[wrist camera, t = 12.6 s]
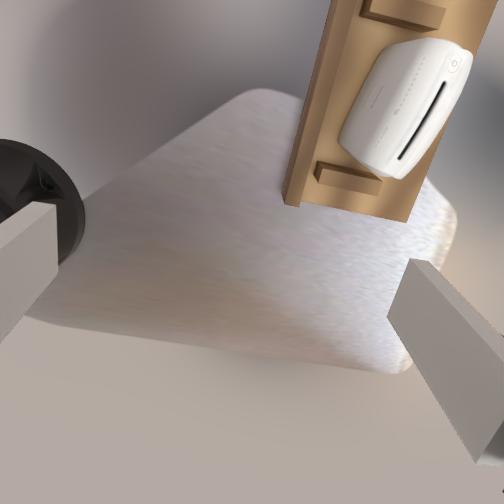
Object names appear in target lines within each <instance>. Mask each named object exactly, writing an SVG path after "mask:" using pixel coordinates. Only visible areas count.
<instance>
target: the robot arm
mask: <svg viewBox="0 0 504 504" xmlns="http://www.w3.org/2000/svg"><path fill="white" fill-rule="evenodd" d="M84 225H85V214H84V208H83V203H82V200H81V197H80V195H79V192H78V190H77V189H76V187H75V185H74V183H73V182H72V180H71V179H70V177H69V176H68V175H67V173H66V172H65V171H64V170H63V169H62V168H61V167H60V166H59V165H58V164H57V163H56V162H55V161H54V160H52V159H51V158H50V157H48V156H47V155H46V154H44V153H42V152H41V151H39V150H37V149H35V148H33V147H31V146H29V145H26V144H23V143H20V142H17V141H12V140H7V139H0V343H1V342H2V341H3V340H4V338H5V337H6V336H7V335H8V333H9V332H10V331H11V330H12V329H13V327H14V326H15V325H16V324H17V323H18V321H19V320H20V319H21V318H22V317H23V315H24V314H25V313H26V312H27V311H28V309H29V308H30V307H31V306H32V305H33V303H34V302H35V301H36V300H37V299H38V297H39V296H40V295H41V294H42V293H43V291H44V290H45V289H46V288H47V287H48V285H49V284H50V283H51V282H52V281H53V279H54V278H55V277H56V276H57V275H58V266H59V265H60V264H61V263H63V262H64V261H65V260H66V259H67V258H68V257H69V256H70V255H71V254H72V253H73V251H74V250H75V249H76V248H77V246H78V244H79V243H80V240H81V238H82V235H83V232H84ZM387 318H388V320H389V321H390V323H391V325H392V326H393V328H394V330H395V331H396V333H397V335H398V336H399V338H400V340H401V341H402V343H403V345H404V346H405V348H406V350H407V351H408V353H409V354H410V356H411V358H412V359H413V361H414V363H415V364H416V366H417V368H418V369H419V371H420V373H421V374H422V376H423V377H424V379H425V381H426V383H427V384H428V386H429V387H430V389H431V391H432V393H433V394H434V396H435V397H436V399H437V401H438V402H439V404H440V406H441V407H442V409H443V411H444V412H445V414H446V416H447V417H448V419H449V421H450V422H451V424H452V426H453V427H454V429H455V431H456V432H457V434H458V435H459V437H460V439H461V440H462V442H463V444H464V445H465V447H466V449H467V450H468V452H469V454H470V455H471V457H472V459H473V460H474V462H475V463H476V464H482V465H494V466H503V464H504V336H503V335H501V334H500V333H498V331H497V330H496V329H495V328H494V327H493V326H492V325H491V324H490V323H489V322H488V321H487V320H486V319H485V318H484V317H483V316H482V315H481V314H480V313H479V312H478V311H477V310H476V309H475V308H474V307H473V306H472V305H471V304H470V303H469V302H468V301H467V300H466V299H465V298H464V297H463V296H462V295H461V294H460V293H459V292H458V291H457V290H456V289H455V288H454V287H453V286H452V285H451V284H450V283H449V282H448V281H447V280H446V279H445V278H444V277H443V276H442V274H441V273H440V272H439V271H438V270H437V269H436V268H435V267H434V266H433V265H432V264H431V263H430V262H429V261H424V260H418V259H411V258H410V259H409V262H408V264H407V267H406V269H405V272H404V274H403V277H402V280H401V282H400V285H399V287H398V290H397V292H396V295H395V297H394V300H393V302H392V305H391V307H390V310H389V312H388V315H387ZM503 493H504V490H503Z"/></svg>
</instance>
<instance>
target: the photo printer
mask: <svg viewBox="0 0 504 504" xmlns="http://www.w3.org/2000/svg"><path fill="white" fill-rule="evenodd" d="M472 62H473V55H472V53H471V52H470V51H468V50H465V49H462V47H461V46H460V45H458V44H457V43H455V42H452V41H449V40H447V39H437V38H430V37H428V38H422V39H417V40H412V41H407V42H402V43H397V44H392V45H388V46H387V47H385V49H384V50H383V51H382V53H381V54H380V55H379V57H378V59H377V60H376V62H375V64H374V65H373V67H372V69H371V71H370V73H369V75H368V77H367V78H366V80H365V82H364V84H363V86H362V88H361V90H360V92H359V94H358V96H357V98H356V100H355V102H354V104H353V106H352V108H351V110H350V113H349V115H348V117H347V119H346V121H345V123H344V126H343V128H342V130H341V133H340V136H339V140H338V143H339V144H340V145H342V147H343V148H344V150H345V151H347V152H348V153H349V154H350V155H351V156H353V157H354V158H355V159H356V160H358V161H359V162H360V163H362V164H363V165H364V166H365V167H367V168H368V169H369V170H370V171H372V172H373V173H375V174H376V175H379V176H382V177H394V178H396V179H402V178H403V177H404V176H406V175H407V174H408V173H409V172H410V171H411V170H412V169H413V167H414V166H415V165H416V164H417V163H418V161H419V160H420V159H421V158H422V156H423V155H424V154H425V152H426V151H427V149H428V148H429V146H430V145H431V144H432V142H433V141H434V139H435V138H436V136H437V134H438V133H439V131H440V130H441V129H442V127H443V125H444V123H445V122H446V120H447V118H448V116H449V115H450V113H451V111H452V109H453V107H454V105H455V103H456V102H457V100H458V98H459V96H460V94H461V92H462V89H463V87H464V85H465V83H466V80H467V78H468V75H469V72H470V69H471V65H472Z"/></svg>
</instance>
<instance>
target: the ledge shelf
mask: <svg viewBox="0 0 504 504" xmlns="http://www.w3.org/2000/svg"><path fill="white" fill-rule="evenodd" d="M497 1H498V0H331V4H330V8H329V12H328V16H327V19H326V23H325V27H324V31H323V35H322V39H321V43H320V46H319V50H318V54H317V58H316V62H315V66H314V70H313V73H312V77H311V81H310V85H309V89H308V93H307V97H306V100H305V104H304V108H303V112H302V116H301V120H300V124H299V127H298V131H297V135H296V139H295V143H294V147H293V151H292V155H291V158H290V162H289V166H288V170H287V174H286V178H285V182H284V186H283V189H282V196H283V201H284V204H286V205H290V206H295V207H299V205H300V201H305V202H309V203H314V204H319V205H323V206H328V207H333V208H338V209H342V210H347V211H352V212H356V213H361V214H366V215H371V216H375V217H380V218H385V219H389V220H394V221H399V222H404V223H406V222H407V220H408V217H409V215H410V213H411V210H412V208H413V205H414V203H415V200H416V198H417V196H418V193H419V191H420V188H421V186H422V183H423V181H424V179H425V176H426V174H427V171H428V169H429V166H430V164H431V162H432V159H433V157H434V154H435V152H436V149H437V147H438V144H439V142H440V140H441V137H442V135H443V132H444V130H445V128H446V125H447V123H448V120H449V118H450V115H451V113H452V111H451V113H450V115H449V116H448V118H447V120H446V122H445V123H444V125H443V127H442V129H441V130H440V131H439V133H438V134H437V136H436V138H435V139H434V141H433V142H432V144H431V145H430V146H429V148H428V149H427V151H426V152H425V154H424V155H423V156H422V158H421V159H420V160H419V161H418V163H417V164H416V165H415V166H414V167H413V169H412V170H411V171H410V172H409V173H408V174H407V175H406V176H404V177H403V178H402V179H396V178H394V177H382V176H379V175H376V174H375V173H373V172H372V171H370V170H369V169H368V168H367V167H365V166H364V165H363V164H362V163H360V162H359V161H358V160H356V159H355V158H354V157H353V156H351V155H350V154H349V153H348V152H347V151H345V150H344V148H343V147H342V145H340V144H339V143H338V140H339V136H340V133H341V130H342V128H343V126H344V123H345V121H346V119H347V117H348V115H349V113H350V110H351V108H352V106H353V104H354V102H355V100H356V98H357V96H358V94H359V92H360V90H361V88H362V86H363V84H364V82H365V80H366V78H367V77H368V75H369V73H370V71H371V69H372V67H373V65H374V64H375V62H376V60H377V59H378V57H379V55H380V54H381V53H382V51H383V50H384V49H385V47H387V46H388V45H392V44H397V43H402V42H407V41H412V40H417V39H422V38H428V37H430V38H437V39H447V40H449V41H452V42H455V43H457V44H458V45H460V46H461V47H462V49H465V50H468V51H470V52H471V53H472V55H473V60H474V57H475V55H476V52H477V50H478V47H479V45H480V43H481V40H482V38H483V35H484V33H485V30H486V28H487V26H488V23H489V21H490V18H491V16H492V13H493V11H494V9H495V6H496V4H497ZM454 106H455V105H454ZM453 108H454V107H453ZM452 110H453V109H452Z"/></svg>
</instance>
